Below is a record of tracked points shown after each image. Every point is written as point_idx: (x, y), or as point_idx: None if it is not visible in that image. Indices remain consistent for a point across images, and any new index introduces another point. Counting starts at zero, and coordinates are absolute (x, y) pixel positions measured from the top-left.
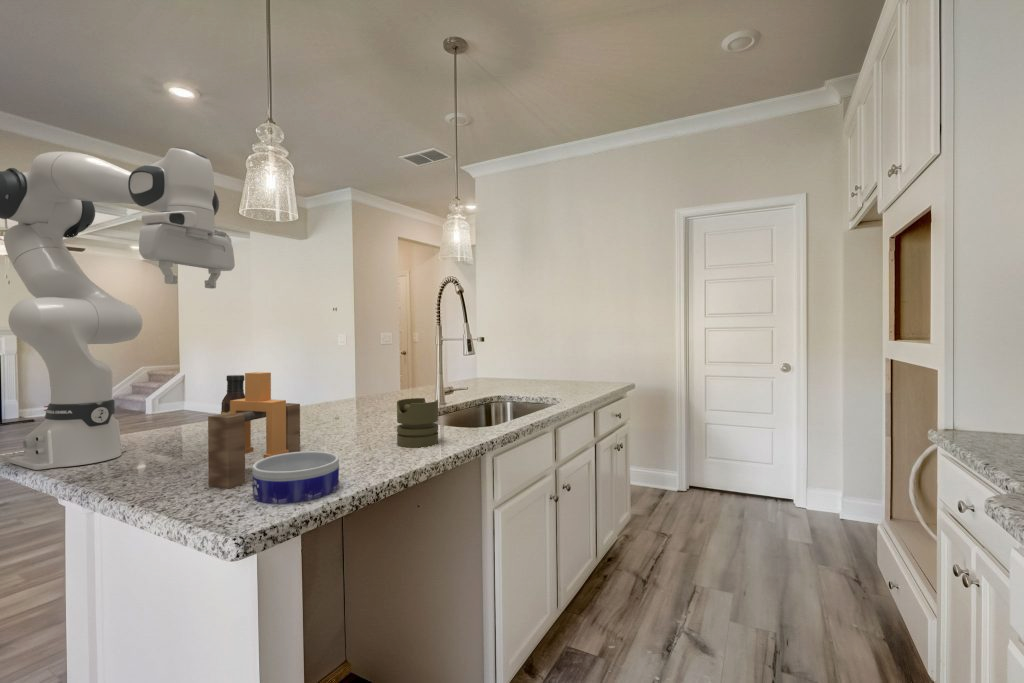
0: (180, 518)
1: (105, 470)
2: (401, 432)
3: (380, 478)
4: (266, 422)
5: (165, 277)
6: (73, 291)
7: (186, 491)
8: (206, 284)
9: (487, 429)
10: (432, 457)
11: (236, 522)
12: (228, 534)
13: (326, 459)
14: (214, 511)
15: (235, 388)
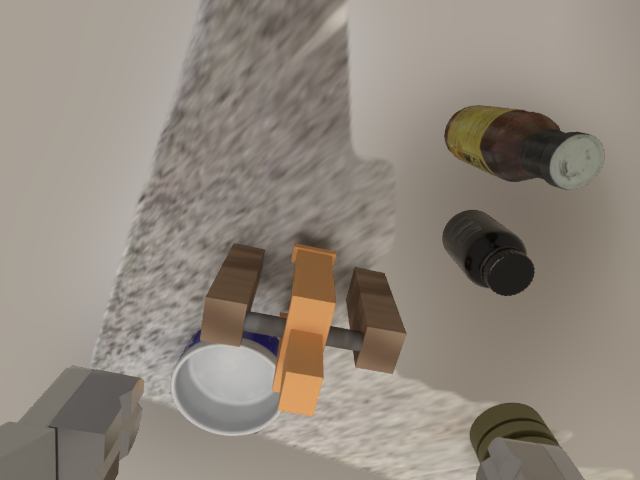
0: (118, 291)
1: None
2: (489, 436)
3: (297, 435)
4: (278, 353)
5: (35, 413)
6: None
7: (209, 226)
8: (511, 473)
9: None
10: (406, 467)
11: (124, 355)
12: (94, 365)
13: (278, 402)
14: (147, 313)
15: (529, 168)
